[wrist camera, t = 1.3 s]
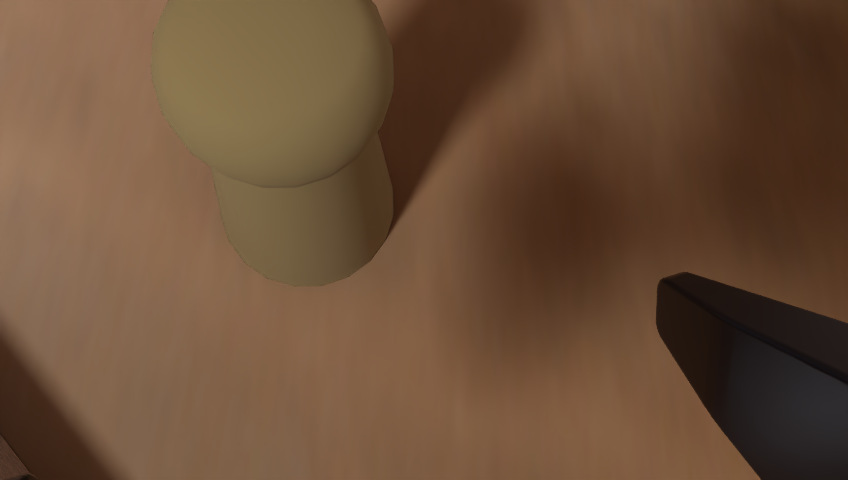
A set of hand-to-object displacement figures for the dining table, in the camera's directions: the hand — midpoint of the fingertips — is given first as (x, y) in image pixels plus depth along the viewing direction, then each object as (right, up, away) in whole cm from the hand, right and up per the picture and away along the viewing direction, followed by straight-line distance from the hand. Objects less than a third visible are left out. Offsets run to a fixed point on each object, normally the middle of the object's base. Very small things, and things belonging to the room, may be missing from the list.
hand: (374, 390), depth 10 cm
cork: (-3, +3, +15) cm, 15 cm away
